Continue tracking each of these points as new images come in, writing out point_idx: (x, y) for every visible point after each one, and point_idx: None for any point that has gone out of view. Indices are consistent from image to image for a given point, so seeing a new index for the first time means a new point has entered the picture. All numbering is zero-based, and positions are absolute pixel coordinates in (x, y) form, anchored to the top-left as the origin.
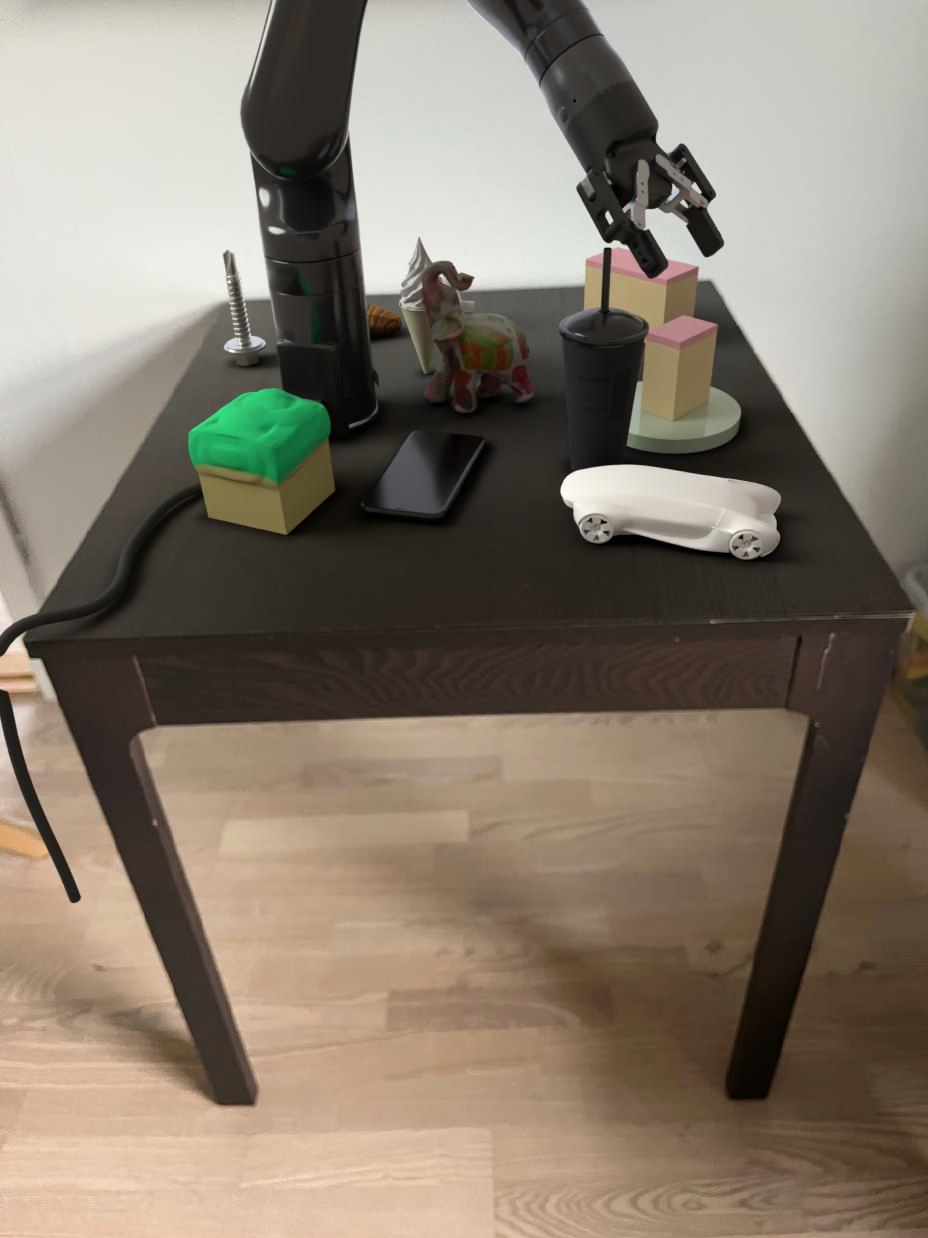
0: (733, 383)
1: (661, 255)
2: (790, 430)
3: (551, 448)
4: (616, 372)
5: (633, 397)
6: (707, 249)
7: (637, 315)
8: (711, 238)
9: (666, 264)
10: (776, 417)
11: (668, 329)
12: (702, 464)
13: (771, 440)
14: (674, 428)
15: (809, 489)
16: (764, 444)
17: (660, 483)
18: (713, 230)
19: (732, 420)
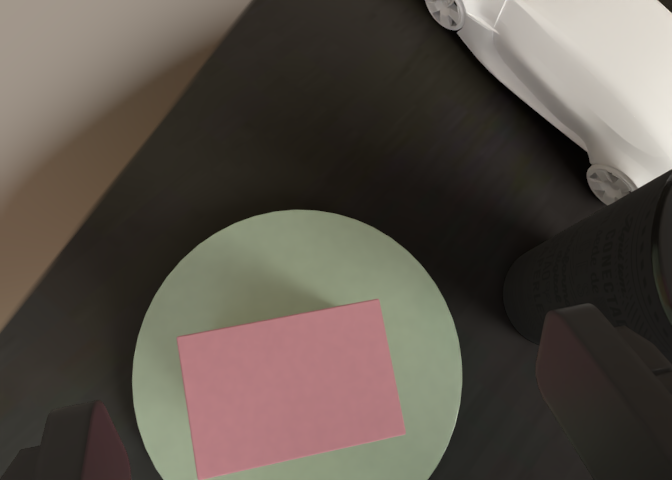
0: (16, 435)
1: (604, 335)
2: (125, 175)
3: None
4: None
5: (604, 207)
6: (117, 473)
7: (668, 255)
8: (96, 469)
9: (567, 308)
10: (96, 236)
11: (337, 403)
12: (377, 184)
13: (194, 170)
14: (366, 282)
15: (292, 6)
16: (219, 167)
17: (645, 31)
18: (74, 478)
19: (239, 232)
